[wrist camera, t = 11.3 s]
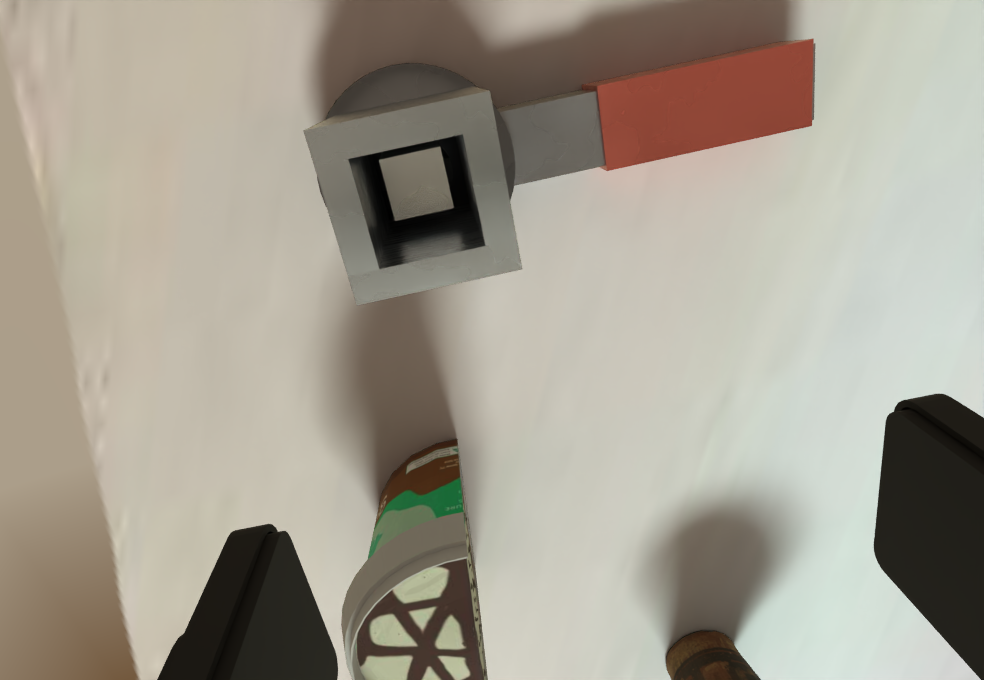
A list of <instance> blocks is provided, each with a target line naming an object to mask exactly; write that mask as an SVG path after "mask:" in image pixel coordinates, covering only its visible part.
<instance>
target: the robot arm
mask: <svg viewBox="0 0 984 680" xmlns="http://www.w3.org/2000/svg"><path fill="white" fill-rule="evenodd" d="M874 552H875V556H876V559H877V561H878V563H879V565H880V567H881V568H882V570H883V571H884V572H885V573H886V574H887V576H888V577H889V578H890V579H891V580H892V581H893V582H894V583H895V584H896V586H897V587H898V588H899V589H900V590H901V591H902V592H903V593H904V594H905V596H906V597H907V598H908V599H909V600H910V601H911V602H912V603H913V604H914V606H915V607H916V608H917V609H918V610H919V611H920V612H921V613H922V615H923V616H924V617H925V618H926V619H927V620H928V621H929V622H930V623H931V625H932V626H933V627H934V628H935V629H936V630H937V631H938V632H939V633H940V635H941V636H942V637H943V638H944V639H945V640H946V641H947V642H948V643H949V645H950V646H951V647H952V648H953V649H954V650H955V651H956V652H957V653H958V655H959V656H960V657H961V658H962V659H963V660H964V661H965V662H966V663H967V665H968V666H969V667H970V668H971V669H972V670H973V671H974V672H975V673H976V675H977V676H978V677H979V678H980V679H981V680H984V418H983V417H981V416H980V415H978V414H977V413H975V412H973V411H972V410H970V409H969V408H967V407H966V406H964V405H962V404H961V403H959V402H958V401H956V400H954V399H953V398H951V397H949V396H947V395H945V394H933V395H928V396H923V397H918V398H913V399H908V400H903V401H901V402H899V403H898V404H897V405H896V407H895V410H894V412H892V413H890V414H889V415H888V417H887V419H886V425H885V436H884V446H883V456H882V466H881V477H880V487H879V497H878V507H877V517H876V528H875V538H874ZM337 676H338V664H337V656H336V653H335V649H334V647H333V644H332V642H331V639H330V637H329V634H328V632H327V629H326V627H325V624H324V621H323V619H322V616H321V614H320V611H319V609H318V606H317V604H316V601H315V599H314V596H313V594H312V591H311V588H310V586H309V583H308V581H307V578H306V576H305V573H304V571H303V568H302V566H301V563H300V561H299V558H298V555H297V553H296V550H295V548H294V545H293V543H292V540H291V538H290V536H289V534H288V533H287V532H286V531H281V532H278V531H277V529H276V528H275V527H274V526H273V525H272V524H266V525H261V526H256V527H251V528H246V529H240V530H235V531H233V532H232V533H231V534H230V535H229V537H228V538H227V541H226V543H225V545H224V547H223V549H222V551H221V554H220V556H219V558H218V560H217V562H216V565H215V567H214V569H213V571H212V573H211V576H210V578H209V580H208V582H207V584H206V587H205V589H204V591H203V593H202V595H201V598H200V600H199V602H198V604H197V606H196V609H195V611H194V613H193V615H192V617H191V620H190V622H189V624H188V626H187V628H186V631H185V633H184V634H183V635H182V636H180V637H179V638H178V639H177V641H176V643H175V644H174V646H173V647H172V649H171V651H170V654H169V656H168V658H167V660H166V662H165V664H164V666H163V669H162V671H161V673H160V675H159V677H158V679H157V680H337Z"/></svg>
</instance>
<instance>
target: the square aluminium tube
mask: <svg viewBox="0 0 984 680" xmlns="http://www.w3.org/2000/svg"><path fill="white" fill-rule="evenodd" d="M304 134H305V137H306V140H307V144H308V147H309V150H310V154H311V157H312V160H313V163H314V167H315V170H316V173H317V176H318V180H319V183H320V186H321V190H322V193H323V196H324V199H325V203H326V206H327V209H328V212H329V216H330V219H331V222H332V226H333V229H334V232H335V235H336V239H337V242H338V245H339V249H340V252H341V255H342V258H343V262H344V265H345V268H346V271H347V275H348V278H349V281H350V285H351V288H352V291H353V294H354V298H355V301H356V304H357V305H362V304H366V303H371V302H375V301H380V300H385V299H389V298H394V297H398V296H403V295H407V294H412V293H416V292H421V291H425V290H430V289H435V288H439V287H444V286H448V285H453V284H457V283H462V282H466V281H471V280H475V279H480V278H485V277H489V276H494V275H498V274H503V273H507V272H512V271H516V270H521V269H522V265H521V259H520V254H519V248H518V243H517V237H516V232H515V226H514V221H513V215H512V210H511V204H510V199H509V193H508V188H507V182H506V176H505V171H504V165H503V160H502V154H501V149H500V143H499V138H498V132H497V127H496V121H495V116H494V110H493V105H492V99H491V94H490V91H489V90H485V89H481V88H477V87H473V86H470V87H466V88H461V89H456V90H452V91H447V92H442V93H438V94H433V95H428V96H424V97H419V98H414V99H410V100H405V101H400V102H395V103H391V104H386V105H381V106H377V107H372V108H367V109H363V110H358V111H353V112H349V113H344V114H339V115H335V116H333V117H331V118H329V119H327V120H324V121H322V122H320V123H318V124H316V125H314V126H312V127H310V128H308V129H306V130H304ZM453 136H456V140H457V145H458V150H459V155H460V160H461V164H462V169H463V174H464V179H465V184H466V188H467V193H468V198H469V203H468V204H464V205H459V206H455V207H454V208H452V209H447V210H443V211H438V212H434V213H429V214H425V215H420V216H415V217H411V218H406V219H402V220H397V221H395V220H389V216H388V212H387V209H386V205H385V201H384V197H383V193H382V190H381V186H380V182H379V178H378V175H377V171H376V167H375V163H374V160H373V156H372V154H374V153H378V152H383V151H388V150H392V149H397V148H402V147H406V146H411V145H415V144H420V143H425V142H429V141H434V140H439V139H443V138H448V137H453Z"/></svg>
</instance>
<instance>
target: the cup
mask: <svg viewBox="0 0 984 680" xmlns="http://www.w3.org/2000/svg"><path fill="white" fill-rule="evenodd" d="M666 667H667V671H668V673H669V675H670V677H671V680H761V679H760V678H759V677H758V676H757V674H756V673H755V672H754V671H753V669H752V668H751V667H750V666H749V664H748V663H747V662H746V661H745V659H744V658H743V657H742V656H741V655H740V653H739V652H738V650H737V649H736V647H735V646H734V644H733V642H732V641H731V640H730V639H729V638H728V637H727V636H726V635H724V634H723V633H720V632H717V631H712V632H709V631H698V632H695V633H692V634H690V635H688V636H685V637H683V638H682V639H681V640H679V641H678V642H677V643H676V644H674V645H673V647H672V648H671V649H670V651H669V652H668V655H667V661H666Z"/></svg>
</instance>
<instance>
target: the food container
mask: <svg viewBox="0 0 984 680" xmlns="http://www.w3.org/2000/svg"><path fill="white" fill-rule="evenodd" d="M341 626H342V633H343V641H344V649H345V656H346V663H347V667H348V670H349V672H350V675H351V677H352V680H488V678H487V669H486V660H485V651H484V642H483V633H482V624H481V615H480V606H479V597H478V588H477V580H476V571H475V563H474V556H473V549H472V542H471V534H470V527H469V520H468V513H467V506H466V499H465V491H464V484H463V477H462V470H461V463H460V456H459V448H458V441H457V439H455V440H450V441H446V442H441V443H436V444H434V445H432V446H430V447H428V448H426V449H424V450H422V451H420V452H418V453H416V454H414V455H412V456H411V457H410V458H408V459H407V460H406V461H405V462H404V463H403V464H402V465H401V466H400V467H399V468H397V469H396V470H395V471H394V472H393V473H392V475H391V477H390V479H389V481H388V483H387V484H386V486H385V488H384V490H383V492H382V495H381V500H380V504H379V509H378V514H377V518H376V523H375V528H374V532H373V537H372V542H371V546H370V551H369V556H368V560H367V561H366V562H365V564H364V565H363V566H362V568H361V569H360V570H359V572H358V573H357V574H356V576H355V577H354V579H353V581H352V583H351V585H350V587H349V589H348V591H347V594H346V597H345V601H344V605H343V608H342V623H341Z"/></svg>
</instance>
